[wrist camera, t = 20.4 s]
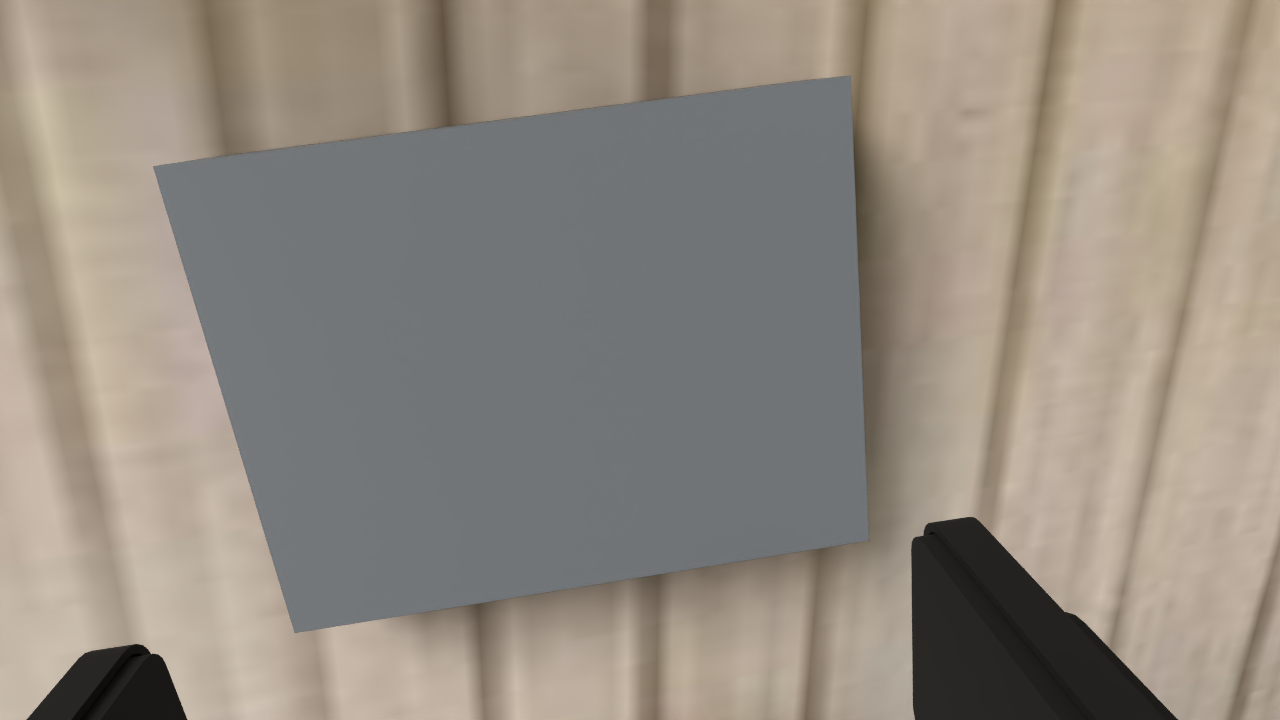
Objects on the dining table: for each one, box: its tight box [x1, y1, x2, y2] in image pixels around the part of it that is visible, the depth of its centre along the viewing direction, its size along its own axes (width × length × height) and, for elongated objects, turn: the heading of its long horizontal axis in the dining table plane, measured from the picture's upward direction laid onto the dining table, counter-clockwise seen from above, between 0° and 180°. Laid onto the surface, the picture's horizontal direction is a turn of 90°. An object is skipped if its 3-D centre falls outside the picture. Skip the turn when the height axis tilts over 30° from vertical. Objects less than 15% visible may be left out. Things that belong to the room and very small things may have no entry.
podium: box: [153, 76, 869, 633], centre depth 25 cm, size 18×14×4 cm
